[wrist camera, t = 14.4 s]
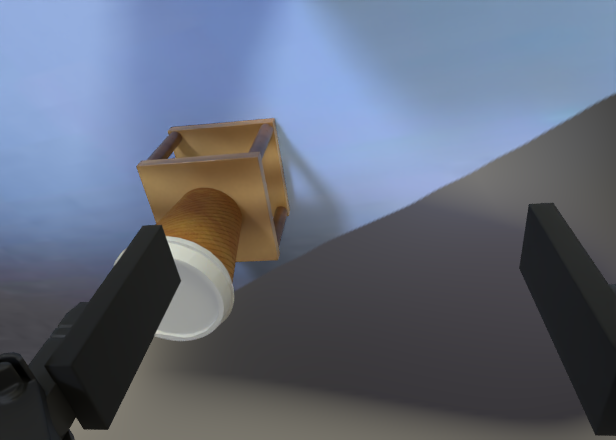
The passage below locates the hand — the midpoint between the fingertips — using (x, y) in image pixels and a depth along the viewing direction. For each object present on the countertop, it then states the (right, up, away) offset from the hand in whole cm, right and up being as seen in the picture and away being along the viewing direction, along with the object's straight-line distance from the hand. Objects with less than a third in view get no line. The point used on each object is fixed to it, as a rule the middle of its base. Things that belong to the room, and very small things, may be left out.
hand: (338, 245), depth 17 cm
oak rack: (-10, +7, +36) cm, 38 cm away
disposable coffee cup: (-11, +1, +28) cm, 30 cm away
